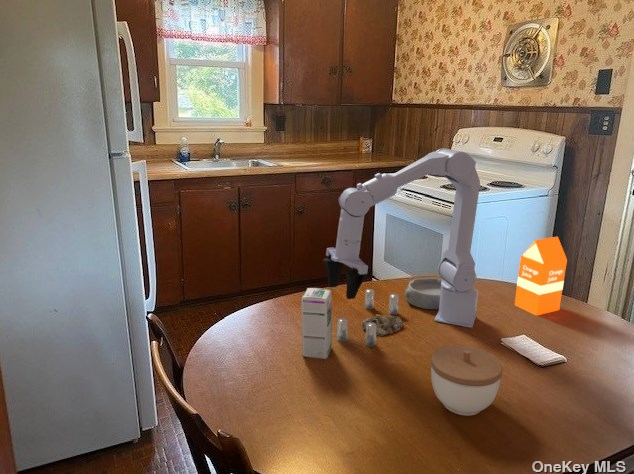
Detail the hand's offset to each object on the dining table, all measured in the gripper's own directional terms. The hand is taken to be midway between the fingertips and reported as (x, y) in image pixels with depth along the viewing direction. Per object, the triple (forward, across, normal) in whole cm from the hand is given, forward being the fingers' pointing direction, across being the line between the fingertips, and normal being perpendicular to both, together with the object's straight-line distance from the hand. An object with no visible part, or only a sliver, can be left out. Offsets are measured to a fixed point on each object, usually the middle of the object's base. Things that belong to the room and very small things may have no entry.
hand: (341, 292), depth 119 cm
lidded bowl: (+8, +38, +3) cm, 39 cm away
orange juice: (+4, +18, +54) cm, 57 cm away
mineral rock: (+9, +6, +10) cm, 15 cm away
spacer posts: (+9, +3, +8) cm, 12 cm away
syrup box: (+11, +7, -10) cm, 16 cm away
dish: (+7, -1, +32) cm, 33 cm away
